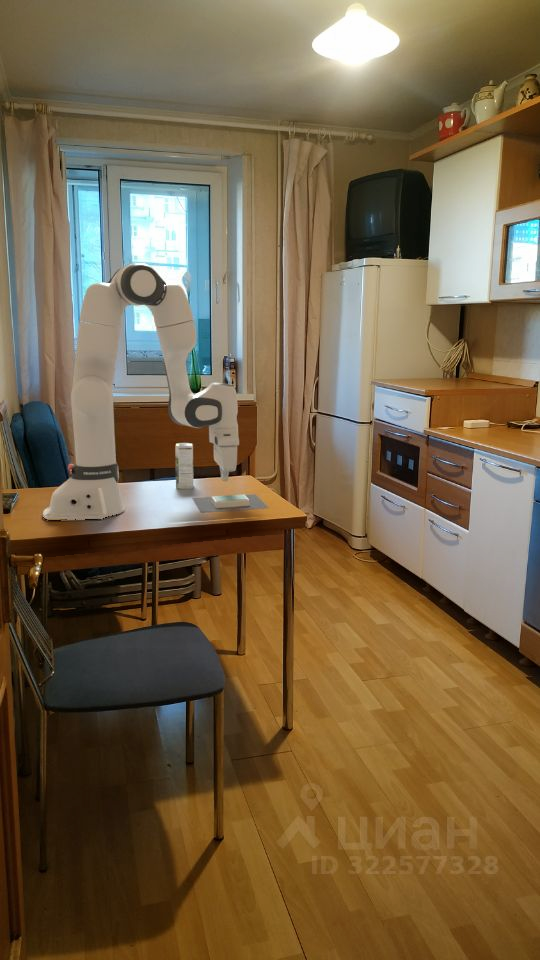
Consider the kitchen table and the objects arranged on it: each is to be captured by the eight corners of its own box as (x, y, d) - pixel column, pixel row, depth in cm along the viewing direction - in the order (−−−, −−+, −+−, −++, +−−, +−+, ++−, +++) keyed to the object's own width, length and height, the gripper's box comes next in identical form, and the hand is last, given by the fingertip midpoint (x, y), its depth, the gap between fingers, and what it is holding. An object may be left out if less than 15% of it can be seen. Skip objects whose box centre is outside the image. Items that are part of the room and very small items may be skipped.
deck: (211, 502, 206) (215, 508, 199) (211, 496, 205) (215, 501, 198) (244, 500, 208) (249, 505, 201) (244, 494, 207) (249, 499, 201)
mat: (200, 513, 194) (200, 512, 194) (192, 499, 211) (192, 498, 211) (269, 509, 199) (269, 507, 199) (255, 495, 216) (255, 494, 216)
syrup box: (176, 485, 231) (174, 443, 228) (194, 485, 231) (192, 442, 228) (176, 489, 225) (174, 445, 222) (194, 488, 226) (192, 445, 223)
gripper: (208, 431, 217) (209, 474, 220) (218, 441, 198) (220, 488, 201) (227, 431, 219) (228, 473, 222) (240, 440, 199) (241, 486, 202)
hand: (224, 480), depth 211 cm, fingers closed
